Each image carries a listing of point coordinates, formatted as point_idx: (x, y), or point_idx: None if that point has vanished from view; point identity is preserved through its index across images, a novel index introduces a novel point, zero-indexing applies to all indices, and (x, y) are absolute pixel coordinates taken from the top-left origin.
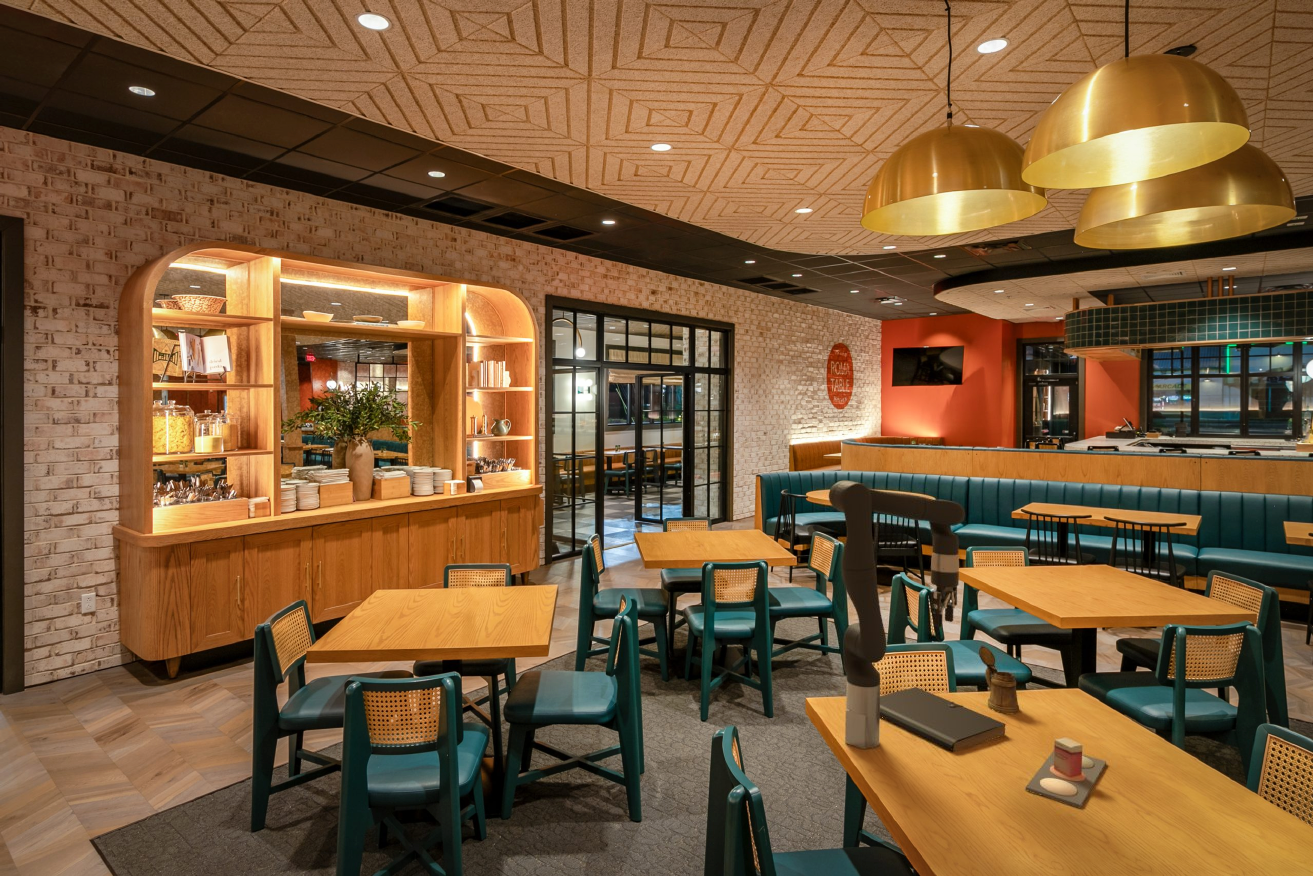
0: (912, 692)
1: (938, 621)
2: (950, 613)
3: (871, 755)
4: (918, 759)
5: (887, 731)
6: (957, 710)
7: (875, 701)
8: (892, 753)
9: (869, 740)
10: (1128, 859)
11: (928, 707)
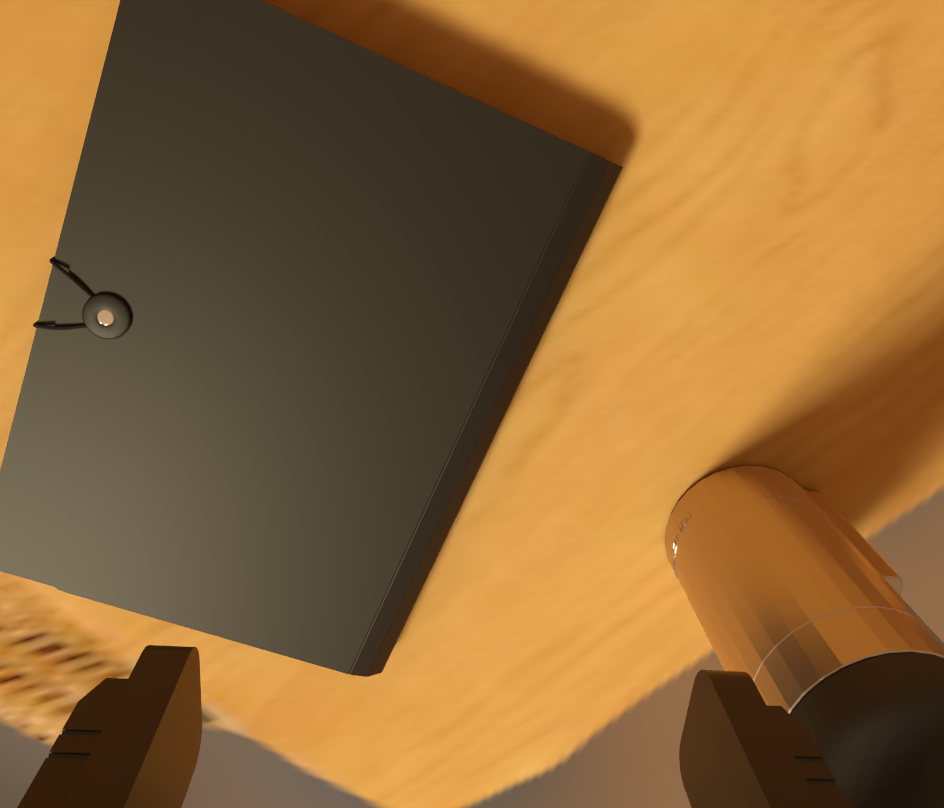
0: (81, 549)
1: (824, 778)
2: (151, 793)
3: (855, 452)
4: (786, 275)
5: (558, 488)
6: (152, 268)
7: (889, 596)
8: (786, 390)
9: (813, 501)
10: None
11: (233, 414)
